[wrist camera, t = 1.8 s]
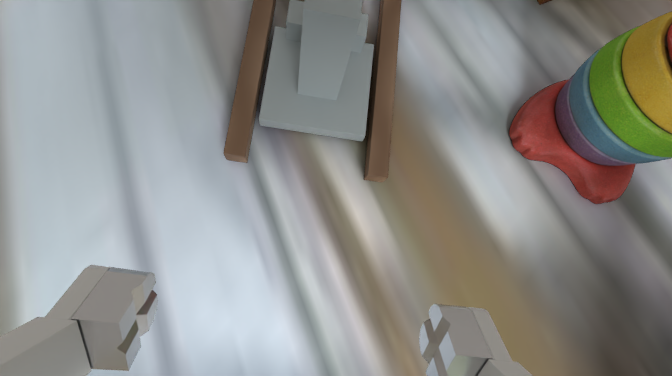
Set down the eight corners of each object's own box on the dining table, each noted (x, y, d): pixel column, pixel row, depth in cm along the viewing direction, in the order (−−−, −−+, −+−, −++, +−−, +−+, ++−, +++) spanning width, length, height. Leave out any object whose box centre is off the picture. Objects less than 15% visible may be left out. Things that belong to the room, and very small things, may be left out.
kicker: (371, 43, 30) (413, -69, 20) (361, 141, 28) (403, 70, 18) (277, 25, 29) (273, -100, 19) (260, 125, 27) (245, 41, 17)
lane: (400, -44, 33) (405, -58, 31) (382, 182, 28) (387, 177, 26) (271, -72, 32) (271, -88, 30) (226, 159, 26) (223, 153, 25)
